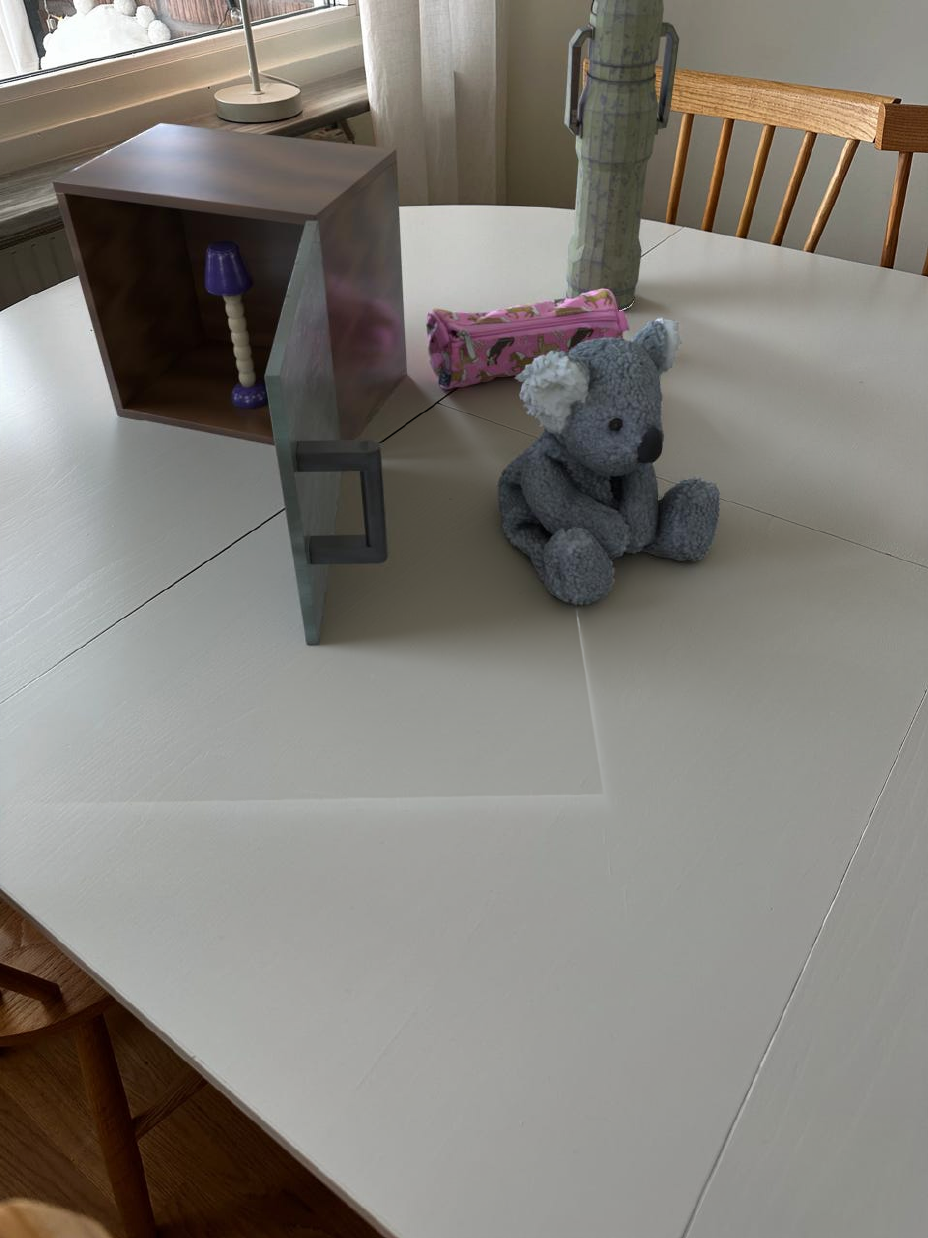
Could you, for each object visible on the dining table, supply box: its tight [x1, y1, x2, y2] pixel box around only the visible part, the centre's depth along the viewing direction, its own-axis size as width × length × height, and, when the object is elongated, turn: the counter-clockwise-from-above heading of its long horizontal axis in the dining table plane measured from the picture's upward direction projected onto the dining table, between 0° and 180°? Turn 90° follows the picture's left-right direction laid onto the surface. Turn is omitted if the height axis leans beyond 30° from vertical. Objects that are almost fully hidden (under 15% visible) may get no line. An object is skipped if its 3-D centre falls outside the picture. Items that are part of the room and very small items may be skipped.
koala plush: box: [496, 315, 721, 606], centre depth 82 cm, size 17×18×20 cm
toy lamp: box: [205, 240, 269, 409], centre depth 98 cm, size 5×5×17 cm
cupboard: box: [51, 122, 408, 447], centre depth 99 cm, size 18×26×24 cm
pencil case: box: [425, 288, 630, 390], centre depth 107 cm, size 21×9×9 cm, turn 105°
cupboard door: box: [264, 221, 389, 646], centre depth 79 cm, size 7×26×24 cm, turn 1°
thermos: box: [563, 0, 680, 311], centre depth 112 cm, size 9×12×35 cm
